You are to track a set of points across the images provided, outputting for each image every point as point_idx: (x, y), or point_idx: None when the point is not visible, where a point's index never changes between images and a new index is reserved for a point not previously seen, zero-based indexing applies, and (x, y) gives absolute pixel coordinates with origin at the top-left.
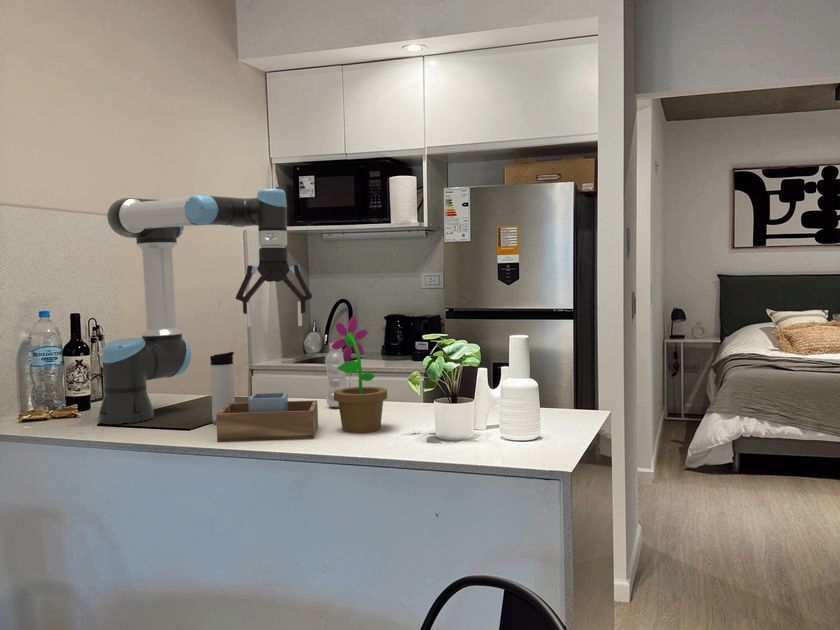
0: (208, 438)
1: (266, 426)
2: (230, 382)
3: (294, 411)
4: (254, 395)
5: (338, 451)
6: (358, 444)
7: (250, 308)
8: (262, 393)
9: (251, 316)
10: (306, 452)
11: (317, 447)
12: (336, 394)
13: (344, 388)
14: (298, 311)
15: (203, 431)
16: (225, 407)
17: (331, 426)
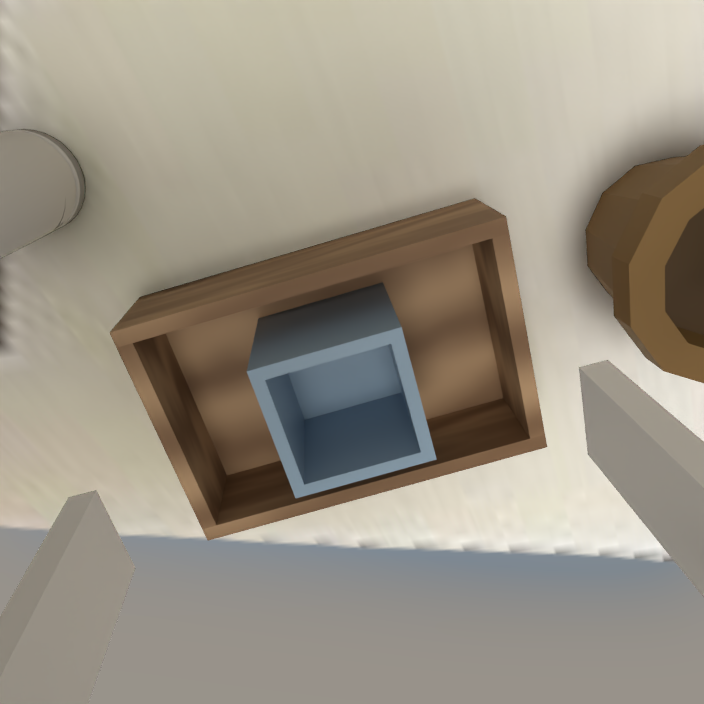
0: (160, 444)
1: None
2: (4, 233)
3: (479, 458)
4: (277, 418)
5: (620, 519)
6: None
7: (55, 701)
8: (289, 366)
9: (69, 576)
10: (535, 541)
11: (553, 491)
12: (643, 345)
13: (666, 203)
14: (675, 551)
15: (68, 353)
16: (161, 425)
17: (531, 202)
